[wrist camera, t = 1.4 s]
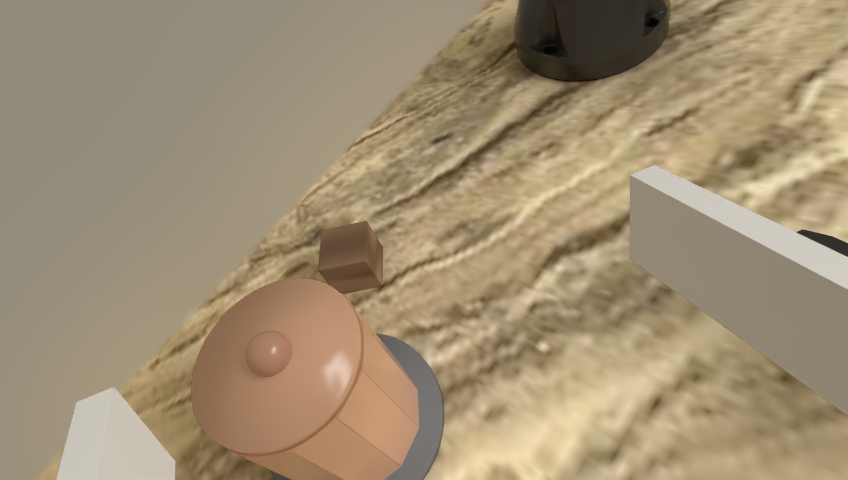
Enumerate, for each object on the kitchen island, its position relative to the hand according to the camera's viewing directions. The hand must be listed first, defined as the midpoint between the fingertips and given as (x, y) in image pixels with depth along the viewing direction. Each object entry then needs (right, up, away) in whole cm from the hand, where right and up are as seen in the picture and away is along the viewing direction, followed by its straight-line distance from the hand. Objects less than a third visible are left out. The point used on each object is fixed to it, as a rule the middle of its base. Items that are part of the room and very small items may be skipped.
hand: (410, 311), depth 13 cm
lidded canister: (-5, -11, +24) cm, 26 cm away
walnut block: (-5, -1, +32) cm, 33 cm away
